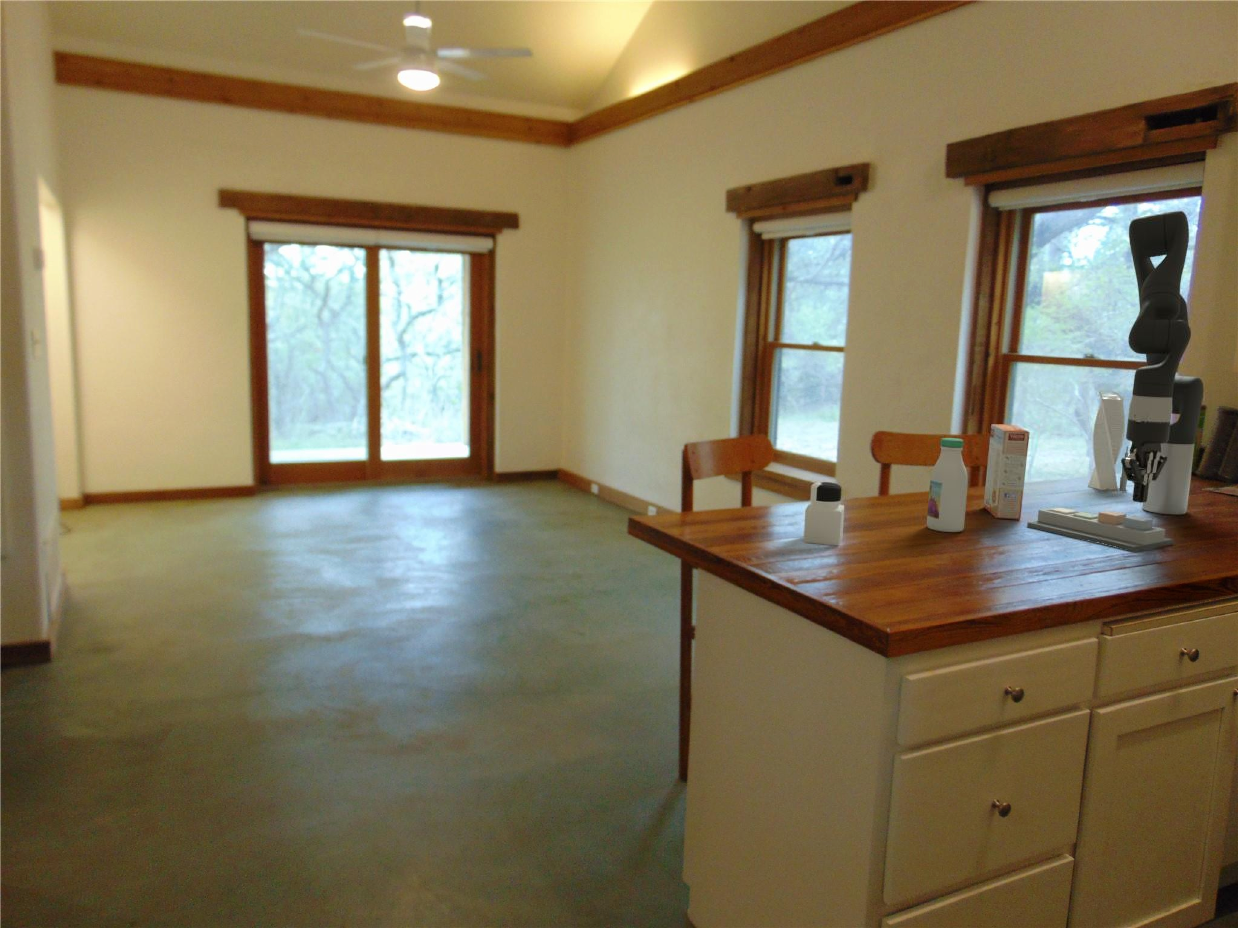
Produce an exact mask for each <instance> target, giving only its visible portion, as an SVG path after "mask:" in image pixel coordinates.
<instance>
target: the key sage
mask: <svg viewBox="0 0 1238 928" xmlns="http://www.w3.org/2000/svg"><path fill="white" fill-rule="evenodd" d="M1074 517H1079V518H1083V519H1088V520H1093V519H1098V514H1093V513H1087V512H1083V513H1077V514H1074Z"/></svg>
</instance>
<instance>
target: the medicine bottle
mask: <svg viewBox="0 0 1238 928" xmlns="http://www.w3.org/2000/svg"><path fill="white" fill-rule="evenodd" d="M809 500H810V501H809V503H808V505H807V506H806V508H805V512H804V514H805V515H804V525H803V526H804V529H803V542H804V543H807V544H814V543H815V544H817V545H825V546H828V545H829V546H837V547H838V546H840V544H841V542H842V540H843V533H844V517H845V505H844V504H841V501H842V486H841V485H839V484H838V483H835V482H829V481H817V482H815V483H812V485H810V499H809Z"/></svg>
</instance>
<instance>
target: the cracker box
mask: <svg viewBox="0 0 1238 928" xmlns="http://www.w3.org/2000/svg"><path fill="white" fill-rule="evenodd" d="M1029 441H1030V431H1028V430H1026V429H1024V428H1021V427H1019V426H1017V425H1014V424H1004V423H1003V424H999V423H998V424H996V423H993V424H991V426H990V435H989V445H988V448H989V449H988V456H987V466H986V467H987V468H986V476H985V478H986V479H985V487H984V498H983V508H984V509H985V510H987V512H988V513H990V514H991V515H992V516H993V517H994V518H995V519H1000V520H1001V519H1003V520H1015V521H1016V520H1017V521H1018V520H1021V517H1022V516H1021V515H1022V506H1023V498H1024V488H1025V477H1026V470H1027V460H1028V459H1027V458H1028V451H1029Z"/></svg>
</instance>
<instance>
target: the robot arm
mask: <svg viewBox="0 0 1238 928" xmlns="http://www.w3.org/2000/svg"><path fill="white" fill-rule="evenodd" d="M1189 230H1190V227H1189V219H1188V217H1187V214H1186V213H1185V212H1184V211H1182V210H1170V211H1169V210H1168V211H1163V212H1159V213H1152V214H1146V215H1142V216H1137V217H1135V218H1133V219H1131V221H1130V223H1129V226H1128V239H1129V246H1130V252H1131V257H1132V262H1133V267H1134V271H1135V272H1134V273H1135V277H1136V278H1135V279H1136V282H1137V283H1136V284H1137V291H1138V302H1139V303H1138V304H1139V312H1138V315H1137V317H1136V319H1135V321H1134V323H1133V324H1132V326H1131V329H1130V330H1129V331H1130V332H1129V334H1128V339H1127V341H1128V346H1129V348H1130V350H1132V351H1133V353H1136V354H1140V355H1145V358H1146V359H1145V360H1146V365H1145V366H1142V367H1139V368H1137V369H1136V370H1135V373H1134V378H1133V386H1132V396H1131V400H1130V403H1129V408H1128V414H1127V415H1128V416H1127V424H1126V425H1127V426H1126V434H1125V439H1126V440H1127V441H1130V442H1131V445H1130V448H1129V450H1128V451H1129V452H1128V453H1129V454H1128V457H1127V458H1125V457H1122V458H1121V460H1120V462H1121V466H1123V468H1124V471H1125V474H1126V477H1127V482H1128V481H1129V482H1132V484H1133V490H1132V491H1133V492H1132V499H1131V500H1132V501H1133V502H1135V503H1142V505H1141V507H1142V510H1144V511H1148V512H1150V513H1151V512H1152V513H1157V514H1163V515H1185V514H1186V513H1187V511H1188V505H1189V504H1188V503H1189V495H1190V487H1191V481H1192V480H1191V479H1192V467H1193V462H1194V461H1193V459H1194V452H1195V451H1194V450H1195V443H1196V436H1197V432H1198V427H1199V421H1200V414H1201V409H1202V404H1203V398H1204V391H1205V390H1204V383H1203V380H1202V379H1201V378H1200V377H1196V376H1187V375H1176V374H1177V371H1178V368H1179V365H1180V362H1181V360H1182V359H1183V358H1182V357H1183V355H1184V353H1185V351H1186V349H1187V347H1188V345H1189V343H1190V341H1191V336H1192V329H1191V327H1190V325H1189V315H1188V314H1189V313H1188V305H1187V302H1186V300H1185V298H1184V297H1183V295H1182V294H1181V283H1182V278H1183V277H1182V276H1183V272H1184V269H1185V265H1186V258H1187V253H1188V249H1189V248H1188V247H1189V242H1190V231H1189ZM1163 256H1164V258H1163V259H1162V260H1161V261H1160V263H1158V265H1157V266H1156V267H1155V265H1154V264H1153V262H1152V260H1151V258H1156V257H1163ZM1172 415H1179V417H1178V419H1177V420H1176V421H1175V422H1173V423H1172Z"/></svg>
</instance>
